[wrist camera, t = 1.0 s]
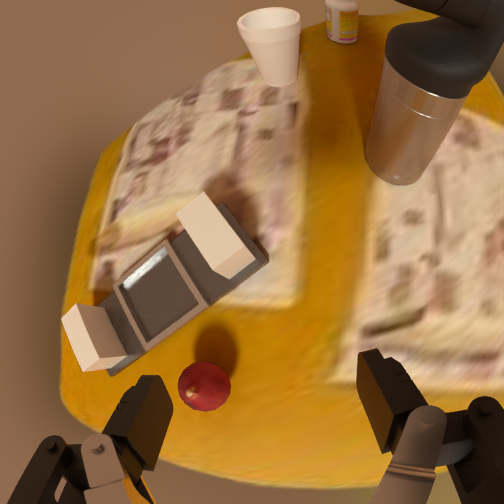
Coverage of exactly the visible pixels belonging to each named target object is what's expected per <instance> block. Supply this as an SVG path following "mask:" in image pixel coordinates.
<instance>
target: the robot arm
mask: <svg viewBox="0 0 504 504" xmlns="http://www.w3.org/2000/svg"><path fill="white" fill-rule="evenodd" d="M395 1H397V2H399V3H402V4H405V5H407V6H411V7H413V8H416V9H419V10H423V11H426V12H429V13H433V14H436V15H439V16H440V17H437V18H435V19H432V20H428V21H423V22H414V23H405V24H400V25H397V26H395V27H393V28H392V29H391V30H390V32H389V33H388V36H387V41H386V47H385V55H384V61H383V67H382V72H381V79H380V84H379V89H378V94H377V99H376V103H375V108H374V112H373V117H372V121H371V126H370V129H369V133H368V138H367V142H366V146H365V158H366V161H367V163H368V165H369V167H370V168H371V169H372V171H373V172H374V173H375V174H376V175H377V176H379V177H380V178H381V179H383V180H385V181H386V182H389V183H391V184H395V185H409V184H412V183H414V182H416V181H417V180H418V179H419V178H420V177H421V175H422V174H423V172H424V171H425V169H426V168H427V166H428V164H429V163H430V162H431V160H432V158H433V157H434V155H435V153H436V152H437V150H438V149H439V147H440V145H441V144H442V142H443V140H444V139H445V137H446V135H447V133H448V132H449V130H450V128H451V126H452V125H453V123H454V121H455V119H456V117H457V116H458V114H459V112H460V110H461V108H462V106H463V104H464V102H465V100H466V98H467V96H468V94H469V92H470V90H471V88H472V87H473V86H474V85H475V84H477V83H479V82H480V81H481V80H482V79H483V78H484V77H485V76H486V74H487V72H488V71H489V69H490V67H491V65H492V63H493V61H494V59H495V57H496V56H497V54H498V52H499V50H500V48H501V46H502V44H503V42H504V0H395ZM356 384H357V391H358V394H359V397H360V399H361V402H362V404H363V407H364V409H365V412H366V414H367V417H368V419H369V422H370V424H371V427H372V429H373V432H374V434H375V437H376V439H377V442H378V444H379V447H380V450H381V452H382V454H384V453H387V452H390V451H391V452H392V455H393V457H392V460H391V462H390V464H389V466H388V468H387V470H386V472H385V474H384V476H383V478H382V480H381V482H380V484H379V486H378V488H377V490H376V491H375V493H374V495H373V497H372V499H371V501H370V502H369V504H426V502H427V500H428V497H429V495H430V492H431V489H432V486H433V483H434V480H435V477H436V473H434V470H435V467H438V466H444V465H446V466H447V468H448V470H449V473H450V475H451V478H452V480H453V483H454V485H455V488H456V490H457V493H458V496H459V498H460V501H461V503H462V504H504V409H503V408H502V406H501V405H500V404H499V402H498V401H497V400H495V399H494V398H492V397H488V396H482V397H478V398H476V399H474V400H473V401H472V402H471V403H470V405H469V407H468V409H467V410H462V411H456V412H450V413H445V412H444V411H443V410H442V409H440V408H438V407H436V406H432V405H428V403H427V402H426V400H425V399H424V397H423V396H422V394H421V393H420V391H419V390H418V388H417V387H416V385H415V384H414V382H413V381H412V380H411V378H410V376H409V375H408V373H406V370H405V369H404V367H403V366H402V365H401V363H400V362H398V361H396V360H395V359H393V358H392V357H389V358H386V359H384V358H383V356H382V354H381V353H380V351H379V350H378V349H377V348H375V349H371V350H367V351H363V352H359V353H358V362H357V379H356ZM119 402H120V403H118V405H117V407H116V410H114V412H113V414H112V416H111V417H110V419H109V421H108V423H107V425H106V426H105V428H104V430H103V432H102V433H101V434H94V435H91V436H90V437H88V438H87V439H86V440H85V441H84V442H83V444H73V445H67V443H66V442H65V441H64V440H63V438H62V437H60V436H56V435H54V436H49V437H47V438H45V439H44V440H43V441H42V442H41V444H40V445H39V447H38V449H37V450H36V452H35V453H34V455H33V457H32V459H31V460H30V462H29V464H28V466H27V468H26V469H25V471H24V473H23V474H22V476H21V478H20V480H19V482H18V484H17V485H16V487H15V489H14V491H13V493H12V495H11V497H10V499H9V501H8V503H7V504H157V503H156V502H155V499H154V498H153V496H152V494H151V492H150V490H149V488H148V486H147V484H146V482H145V480H144V479H143V477H142V476H141V474H142V471H143V470H148V471H154V468H155V465H156V462H157V459H158V456H159V453H160V450H161V447H162V444H163V441H164V438H165V435H166V432H167V429H168V426H169V423H170V420H171V417H172V414H173V403H172V400H171V398H170V396H169V394H168V391H167V389H166V387H165V385H164V382H163V380H162V378H161V377H160V376H159V375H142V376H141V377H140V378H139V380H138V382H137V384H136V386H132V387H131V388H130V389H129V390H127V391H126V392H125V393H124V394H123V396H122V398H121V400H120V401H119ZM62 477H63V478H64V479H65V480H66V481H67V483H66V485H65V487H64V489H63V492H62V494H61V496H60V499H59V501H58V502H56V500H55V496H54V494H55V491H56V488H57V486H58V484H59V482H60V480H61V478H62Z"/></svg>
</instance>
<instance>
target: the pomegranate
mask: <svg viewBox="0 0 504 504" xmlns="http://www.w3.org/2000/svg"><path fill="white" fill-rule="evenodd" d="M230 389H231V383H230V380H229V376H228V375H227V374H226V373H225V371H224V370H223V369H222V368H220V367H219V366H217V365H216V364H213V363H209V362H197V363H193V364H191V365H190V366H188V367H187V368H186V369H184V371H183V372H182V374H181V376H180V377H179V381H178V391H179V395H180V397H181V398H182V400H183V401H184V403H185V404H187V405H188V406H189V407H191V408H192V409H194V410H199V411H205V412H206V411H211V410H216V409H217V408H218V407H220V406H221V405H223V404H224V403H225V402H226V400H227V398H228V396H229V394H230Z"/></svg>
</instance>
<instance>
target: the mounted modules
mask: <svg viewBox="0 0 504 504" xmlns="http://www.w3.org/2000/svg"><path fill="white" fill-rule="evenodd" d="M176 215H177V217H178V218H179V220H180V221H181V223H182V225H183V226H184V228H185V229H186V231H187V232H188V234H189V235H190V237H191V238H192V240H193V242H194V243H195V245H196V246H197V248H198V249H199V251H200V252H201V254H202V255H203V257H204V258H205V260H206V261H207V263H208V264H209V266H210V267H211V269H212V270H213V271H215V272H217V273H219V274H220V275H222V276H224V277H226V278H227V279H231V278H232V277H233V276H234V275H236V274H237V273H238V272H240V271H241V270H242V269H244V268H245V267H246V266H248V265H249V264H250V263H252V262H253V261H254V260H255V257H254V256H253V255H252V253H251V252H250V251H249V249H248V248H247V247H246V245H245V244H244V243H243V241H242V240H241V239H240V237H239V236H238V235H237V233H236V232H235V231H234V230H233V228H232V227H231V226H230V224H229V223H228V222H227V220H226V219H225V218H224V216H223V215H222V214H221V212H220V211H219V210H218V209H217V207H216V206H215V205H214V204H213V202H212V201H211V200H210V198H209V197H208V196H207V195H206V193H205V192H202V193H201V194H200V195H198V196H197V197H196V198H195V199H193V200H192V201H191V202H189V203H188V204H187V205H186V206H184V207H183V208H182V209H181V210H179V211H178V212H177V213H176ZM61 320H62V322H63V325H64V328H65V330H66V333H67V336H68V338H69V341H70V343H71V346H72V348H73V351H74V353H75V355H76V357H77V360H78V362H79V364H80V366H81V369H82V371H83V372H85V371H93V370H100V369H108V368H112V367H113V366H114V365H116V364H117V363H118V362H120V361H121V360H122V359H124V358H125V357H127V356H128V355H127V353H126V352H125V350H124V348H123V346H122V344H121V342H120V340H119V338H118V336H117V334H116V332H115V330H114V328H113V326H112V324H111V322H110V319H109V317H108V315H107V313H106V311H105V308H103V307H96V306H89V305H83V304H75V305H74V306H73V307H72V308H71V309H70V310H69V311H68V312H67V313H66V314H65V315H64V316H63V317H62V319H61Z"/></svg>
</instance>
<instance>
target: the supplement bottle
mask: <svg viewBox="0 0 504 504" xmlns="http://www.w3.org/2000/svg"><path fill="white" fill-rule="evenodd" d="M325 12H326V29H327V36H328V38H329V39H331V40H332V41H335V42H338V43H343V44H349V43H353V42H355V41H356V40H357V37H358V4H357V2H356V1H354V0H325Z"/></svg>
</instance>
